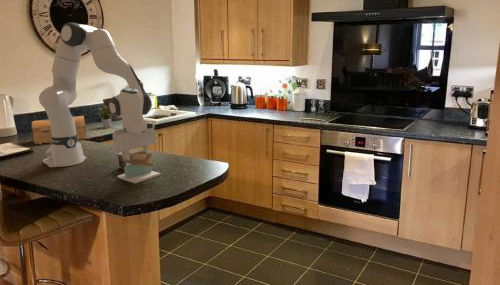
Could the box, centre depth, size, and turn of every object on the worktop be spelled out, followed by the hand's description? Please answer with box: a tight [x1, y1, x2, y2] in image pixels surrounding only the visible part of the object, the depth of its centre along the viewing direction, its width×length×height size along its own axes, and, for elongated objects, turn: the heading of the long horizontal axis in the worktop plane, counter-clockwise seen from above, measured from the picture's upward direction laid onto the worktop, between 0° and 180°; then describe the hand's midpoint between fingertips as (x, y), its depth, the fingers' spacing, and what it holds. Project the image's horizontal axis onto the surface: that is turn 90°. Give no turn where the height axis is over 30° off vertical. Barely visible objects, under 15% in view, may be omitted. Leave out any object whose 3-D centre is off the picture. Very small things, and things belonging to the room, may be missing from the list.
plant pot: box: [102, 97, 123, 122], centre depth 331 cm, size 16×16×16 cm
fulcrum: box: [117, 164, 161, 184], centre depth 184 cm, size 13×13×6 cm
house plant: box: [97, 104, 112, 129], centre depth 298 cm, size 14×14×16 cm
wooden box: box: [31, 115, 88, 145], centre depth 265 cm, size 30×16×14 cm, turn 112°
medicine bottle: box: [117, 149, 135, 171], centre depth 198 cm, size 7×7×12 cm
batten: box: [121, 149, 153, 167], centre depth 183 cm, size 4×16×5 cm, turn 50°
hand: (137, 157), depth 183 cm, fingers open, 6 cm apart
